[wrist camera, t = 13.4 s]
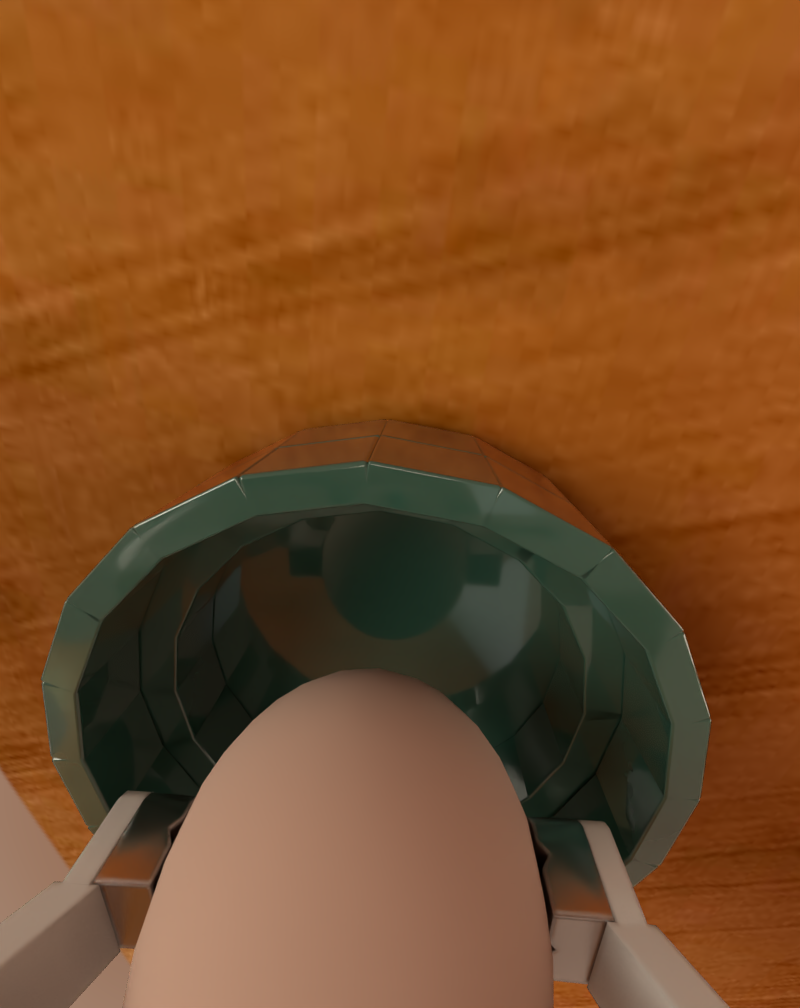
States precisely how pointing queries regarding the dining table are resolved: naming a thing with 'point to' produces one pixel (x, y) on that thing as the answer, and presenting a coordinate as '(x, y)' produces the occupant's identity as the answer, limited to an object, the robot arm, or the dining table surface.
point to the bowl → (382, 628)
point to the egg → (350, 865)
